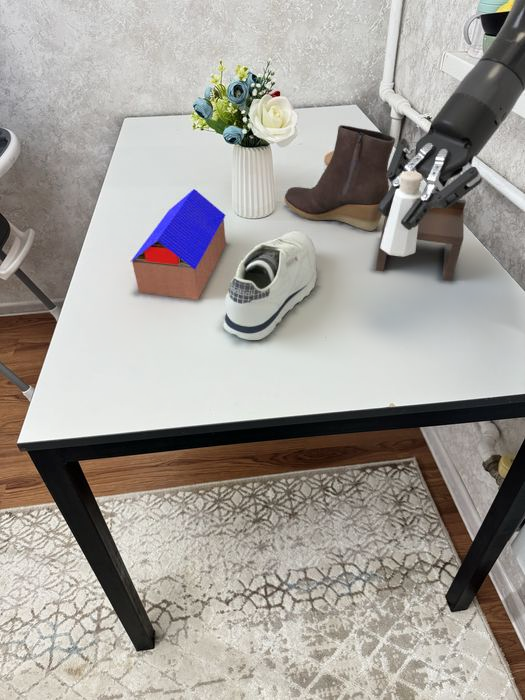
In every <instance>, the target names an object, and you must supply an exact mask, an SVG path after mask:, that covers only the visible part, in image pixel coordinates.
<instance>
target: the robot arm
mask: <svg viewBox="0 0 525 700" xmlns="http://www.w3.org/2000/svg"><path fill="white" fill-rule="evenodd" d="M524 91H525V0H513V3H512V5H511V8H510V10H509V12H508V15H507V17H506V19H505V21H504V23H503V25H502V26H501V28H500V30H499V32H498V33H497V34H496V36H495V38H494V39H493V40H492V42H491V43H490V45H489V46H488V47H487V49H486V50H485V51H484V53H483V54H482V55H481V57H480V58H479V60H478V61H477V63H475V65H474V66H473V68H472V69H470V71H469V72H468V73H467V74H466V75H465V76H464V77H463V78H462V80H461V81H460V82H459V84H458V85H457V87H456V88H455V89H454V91H453V92H452V94H450V97H449V98H448V99H447V100H446V102H445V103H444V104H443V106H442V107H441V108H440V110H439V111H438V112H437V114H436V116H435V117H434V118H433V119H432V121H431V123H430V126H429V129H428V131H427V132H426V134H425V135H424V136H422V137H420V138H419V139H418V140H417V141H412V142H411V141H409V142H408V140H407V139H406V138H405V137H404V138H401V139H399V140H398V142H397V145H396V146H395V150H394V153H393V154H392V157H391V161H390V163H389V165H388V169H387V174H386V176H387V178H388V181H389V182H390V183H391V187H389V191H388V192H387V194H386V195H385V197H384V198H383V199H382V201H381V202H380V204H379V212H380V213H381V214H382V216H383V217H384V218H385V217H386V218H387V217H388V216H389V213H390V209H391V205H392V202H393V198H394V194H395V191H396V189H399V187H400V181H401V174H402V173H403V172H406V171H415V172H418V173H420V174H421V175H422V180H421V182H422V181H423V180H425V179H426V184H425V187H424V189H423V191H422V192H421V199H420V200H419V199H417V200H416V201H415V203H414V204H413V205H412V207H411V208H410V209H409V211H408V212H407V213H406V215H405V216H404V217H403V219H402V220H401V224H402V225H403V226H404V227H405V228H406V229H408V230H411V229H412V228H413V227H414V228H415V227H416V226H417V225H418V224H419V223H420V221H421V220H422V219H423V217H424V216H425V215H426V213H427V212H428V211H429V210H430V209H432V208H434V207H436V208H441V209H442V210H445V209H447V208H449V207H450V206H451V205H452V204H454V203H455V202H456V201H458V200H461V199H462V198H463V197H465V196H466V195H467V194H468V193H470V192H471V191H472V190H473V189H475V188H476V187H478V186H479V185H480V184H482V181H483V177H482V175H481V173H480V172H479V170H478V168H477V167H476V166H473V165H472V164H473V160H474V157H477V156H478V155H479V154H480V153H481V151H482V150H483V148H484V147H485V146H486V144H487V143H488V142H489V141H490V139H491V138H492V137H493V135H494V134H495V133H496V132H497V130H498V129H499V128H500V126H501V125H502V123H503V122H504V121H505V120H506V119H507V117H508V116H509V115H510V113H511V112H512V110H513V109H514V107H515V106H516V104H517V102H518V100H519V98H520V97H521V96H522V94H523V93H524ZM454 177H456V178H455V179H454V180H452V181H451V182H450V180H451V179H452V178H454Z"/></svg>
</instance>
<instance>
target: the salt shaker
mask: <svg viewBox="0 0 525 700" xmlns="http://www.w3.org/2000/svg"><path fill="white" fill-rule="evenodd" d="M421 180H422V175H421V174H420V173H418V172H417V171H416V170H415V171H406V172H403V173H402V174H401V181H400V187H399V189H396V191H395V194H394V198H393V202H392V205H391V209H390V213H389V216H388V219H387V223H386V227H385V230H384V234H383V238H382V241H381V246H380V245H379V246H380V248H381V249H382V250H383V251H385V252H386V253H387V255H389V256H396V257H402V258H403V257H408V256H410V255H413V254H415V253H416V249H417V241H418V240H417V232H418V225H417V226H416V227H415V228H414V227H413V228H412V229H411V230H408V229H406V228H405V227H404V226H403V225H402V224H401V220H402V219H403V217H404V216H405V215H406V213H407V212H408V211H409V209H410V208H411V207H412V205H413V204H414V203H415V201H416V200H417V199H419V200H420V199H421V195H422V191H421V190H420V187H421V184H422V181H423V180H422V181H421Z"/></svg>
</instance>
